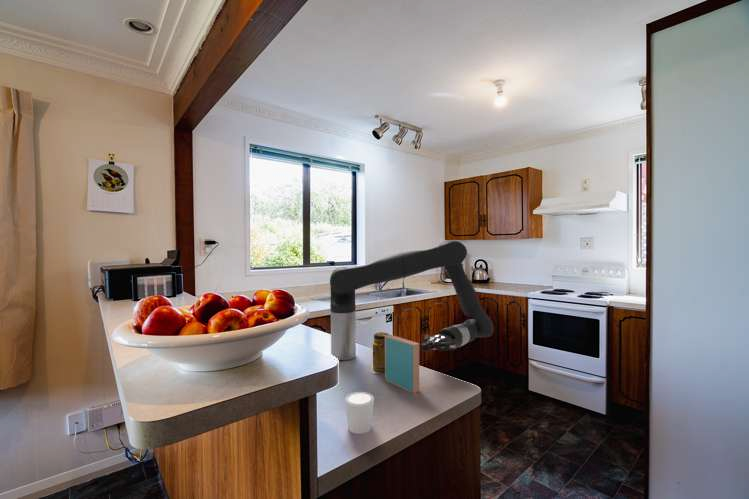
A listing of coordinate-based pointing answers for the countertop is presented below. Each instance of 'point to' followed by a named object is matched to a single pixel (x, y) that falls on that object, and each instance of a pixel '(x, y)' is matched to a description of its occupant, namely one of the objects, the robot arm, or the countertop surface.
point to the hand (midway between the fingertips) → (422, 348)
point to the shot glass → (359, 412)
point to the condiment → (379, 353)
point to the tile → (402, 363)
